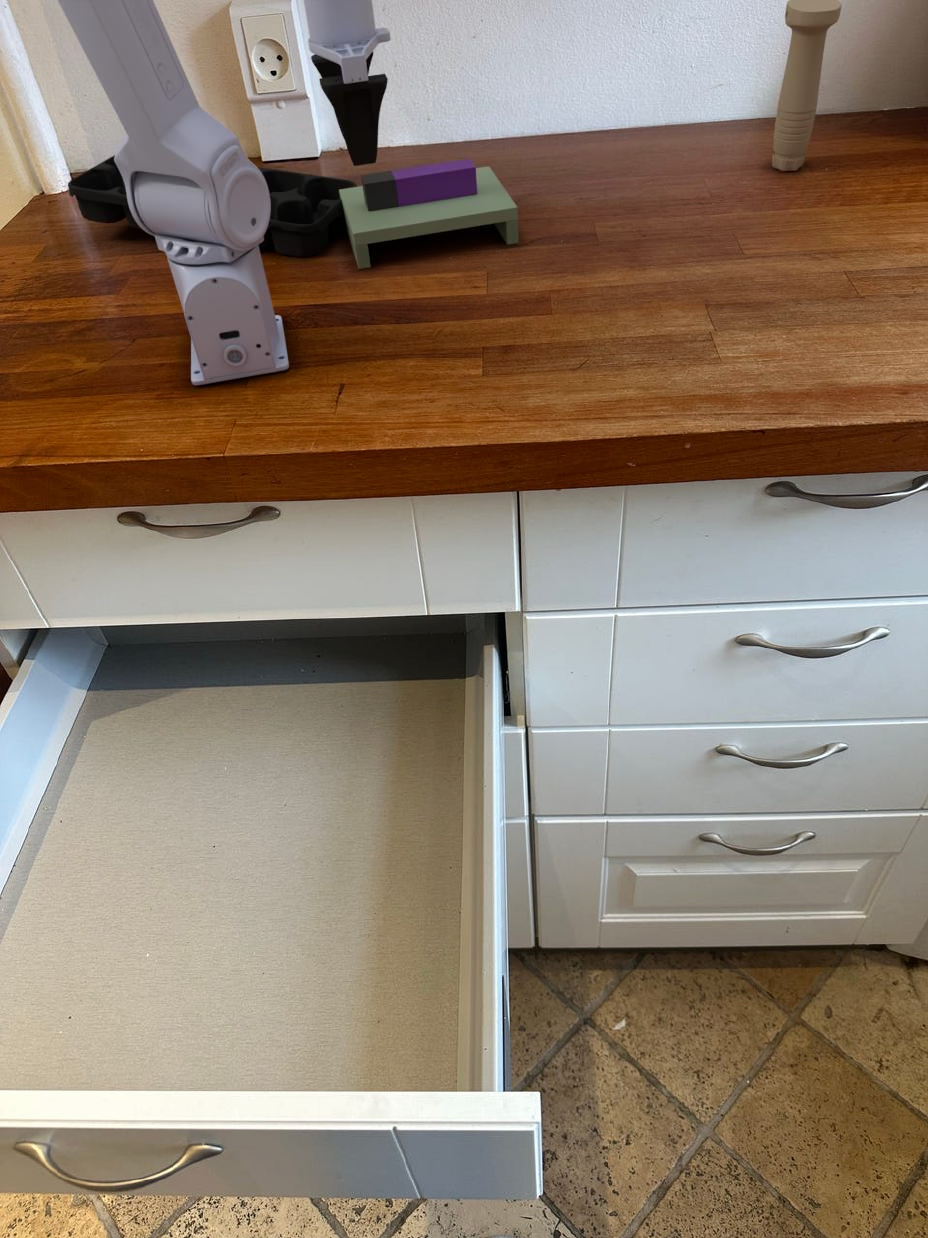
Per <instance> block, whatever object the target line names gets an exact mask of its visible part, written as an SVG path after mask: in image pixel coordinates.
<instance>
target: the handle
mask: <svg viewBox="0 0 928 1238" xmlns="http://www.w3.org/2000/svg"><path fill="white" fill-rule="evenodd" d="M842 6H843V5H842V2H841V1H840V0H788V1H787V2H786V5H785V12H784V13H785V14H784V20H785V25H786V26H787V27H789V28H790V29H791V35H790V36H791V37H790V43H789V48H788V53H787V57H786V63H785V69H784V72H783V73H784V74H783V79H782V82H781V88H780V93H779V98H778V102H777V108H776V116H775V122H774V130H773V131H774V133H773V152H774V154H772V156H771V157H772V158H771V165H772V168H773V169H776V170H779V171H780V172H796V171H798V170H799V168H802V166H803V165H804V162H805V159H806V155H807V154H806V152H807V150H808V147H809V144H810V139H811V138H812V137H811V136H812V132H813V128H814V124H815V123H814V122H815V119H816V115H817V114H816V113H817V108H818V101H819V93H820V84H821V77H822V69H823V68H822V67H823V60H824V52H825V45H826V44H825V43H826V40H827V39H826V38H827V32H828V30H829V29H830V28H831V27H832V26H834V25H835V24H837V23H838V22H839V19H840V16H841V12H842V11H841V10H842Z"/></svg>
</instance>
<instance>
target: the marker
mask: <svg viewBox="0 0 928 1238" xmlns="http://www.w3.org/2000/svg"><path fill="white" fill-rule="evenodd" d="M476 168H477V167H476V166H475V164H474V162H473V161H472V159H471V158H463V159H457V160H451V161H444V162H439V163H438V162H437V163H432V164H426V165H417V166H411V167H405V168H400V169H393V170H386V171H379V172H373V173H366V174H362V175H360V178H361V186H363V192H364V199H365V204H366V206H367V209H368V211H375V210H381V209H387V208H394V207H398V206H406V205H412V204H418V203H425V202H431V201H437V200H444V199H450V198H456V197H462V196H469V195H475V194H477V180H476Z"/></svg>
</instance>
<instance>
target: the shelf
mask: <svg viewBox="0 0 928 1238" xmlns="http://www.w3.org/2000/svg"><path fill="white" fill-rule="evenodd" d="M476 180H477V194H475V195H469V196H462V197H456V198H450V199H444V200H437V201H431V202H425V203H418V204H412V205H406V206H398V207H394V208H387V209H381V210H375V211H368V209H367V206H366V204H365V199H364V192H363V186H362V185H360V186H357V187H353V188H347V189H340V190H339V194H340V199H341V200H342V205H343V210H344V213H343V214H344V221H345V227H344V228H345V230H346V233H347V236H348V239H349V242H350V246H351V248H352V253H353V255H354V259H355V261H356V264H357V268H358V270H363V269H368V268H369V269H370V268H371V267H372V265H371V259H370V252H369V245H370V244H376V243H382V242H388V241H394V240H399V239H407V238H412V237H418V236H425V235H431V234H437V233H444V232H450V231H456V230H461V229H468V228H474V227H480V226H486V225H492V224H493V225H494V226H495V228H496V230H497V231H498V233H499V234H500V236H501V237H502V239H503V240H504V242H505V244H506V245H507V246H509V245H516V244H519V242H520V240H519V239H520V237H519V211H518V210H519V209H518V208H519V207H518V205H516V203H515V202H514V200H513V198H512V197H511V196H510V194H509V193H508V191H507V190H506V188H505V187H504V186H503V185H502V183H501V181H500V180H499V179H498V177H497V175H496V174H495V172H494V171H493V170H492V168H491V167H490V165H489V166H488V165H487V166H483V167H476Z"/></svg>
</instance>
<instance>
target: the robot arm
mask: <svg viewBox="0 0 928 1238" xmlns="http://www.w3.org/2000/svg"><path fill="white" fill-rule="evenodd" d="M57 2H58V4H59V6H60V8H61V10H62V12H63V14H64V16H65V17H66V19H67V21H68V23H69V25H70V27H71V30H73V33H74V35H75V36H76V39H77V40H78V42H79V44H80V46H81V49H82V50H83V52H84V54H85V56H86V58H87V60H88V61H89V64H90V66H91V68H92V70H93V72H94V74H95V75H96V77H97V79H98V81H99V83H100V85H101V86H102V89H103V91H104V92H105V95H106V96H107V98H108V100H109V102H110V104H111V106H112V108H113V110H114V112H115V114H116V115H117V117H118V119H119V122H120V124H121V125H122V127H123V128H124V131H125V134H124V136H123V138H122V139H121V141H120V143H119V145H118V147H117V150H116V152H115V154H114V155H115V157H114V161H115V163H116V165H117V167H118V169H119V171H120V173H121V175H122V177H123V180H124V184H125V188H126V194H127V200H128V205H129V208H130V211H131V213H132V216H133V218H134V219H135V221H136V222H137V224H138V225H139V226H140V227H141V228H142V229H143V230H142V229H141V230H142V231H144V232H145V233H147V234H148V235H150V236H153V237H154V238H155V242H156V247H157V248H158V251H160V252H161V251H162V252H164V253H165V255H166V259H167V262H168V265H169V269H170V272H171V275H172V277H173V281H174V285H175V289H176V291H177V295H178V297H179V301H180V304H181V308H182V311H183V315H184V319H185V323H186V327H187V329H188V333H189V336H190V339H191V340H190V352H191V353H190V357H191V358H190V382H191V384H192V385H193V386H203V385H208V384H213V383H220V382H227V381H231V380H237V379H242V378H248V377H254V376H260V375H265V374H266V375H267V374H271V373H278V372H283V371H287V370H288V369H289V368H290V362H289V356H288V350H287V349H288V348H287V342H286V335H285V330H284V324H283V323H284V322H283V318H282V316H281V315H278V314H277V315H276V314H275V310H274V306H273V305H274V304H273V302H272V301H273V300H272V297H271V293H270V289H269V284H268V280H267V275H266V271H265V267H264V263H263V258H262V254H261V250H260V248H259V246H258V244H260V243H262V242H263V241H264V237H263V236H264V234H265V232H266V230H267V227H268V223H269V219H270V213H271V202H270V194H269V190H268V186H267V183H266V181H265V178H264V176H263V175H262V173H261V171H260V170H259V169H258V168H257V167H258V166H256V165H255V164H254V163H253V162H252V161H251V160H250V159H249V158H248V156H247V155H246V153H245V150H244V149H243V147H242V144H241V142H240V139H239V137H238V135H236V134H235V133H234V132H233V131H231V130H230V129H229V128H228V127H226V125H224V124H222V123H221V121H219V120H217V119H216V118H215V117H213V116H212V115H210V114H209V113H208V112H207V111H206V110H205V109H203V107H201V106H200V104H199V102H198V99H197V96H196V94H195V93H194V90H193V88H192V86H191V84H190V81H189V79H188V76H187V75H186V72H185V70H184V67H183V65H182V63H181V61H180V58H179V56H178V54H177V52H176V50H175V47H174V44H173V43H172V40H171V38H170V36H169V33H168V31H167V28H166V26H165V24H164V22H163V20H162V17H161V15H160V13H159V10H158V8H157V6H156V4H155V2H154V0H57ZM303 6H304V11H305V17H306V23H307V29H308V34H309V38H308V39H307V43H308V51H310V52H311V53H312V54H313V55H311V57H310V60H311V63H312V64H313V66H314V68H315V69H316V70H317V72H318V74H319V75H320V77H321V78H320V77H319V80H318V81H319V85H320V88H321V90H322V91H323V93H324V96H326V98H327V100H328V101H329V103H330V105H331V106H332V108H333V111H334V115H335V118H336V121H337V125H338V128H339V130H340V133H341V135H342V138H343V140H344V143H345V147H346V150H347V152H348V155H349V157H350V160H351V163H352V165H353V167H359V166H366V165H371V164H376V163H377V157H378V150H379V149H378V146H379V123H380V115H381V114H380V113H381V108H382V103H383V99H384V96H385V93H386V91H387V87H388V81H389V79H388V76H387V74H386V73H380V74H372V75H369V73H370V69H371V64H372V61H373V57H374V50H375V49H376V48H377V47H378V45H379V44H383V43H388V42H390V41H391V31H390V30H389V28H387V27H380V28H379V27H378V28H376V22H375V13H374V3H373V0H303Z"/></svg>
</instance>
